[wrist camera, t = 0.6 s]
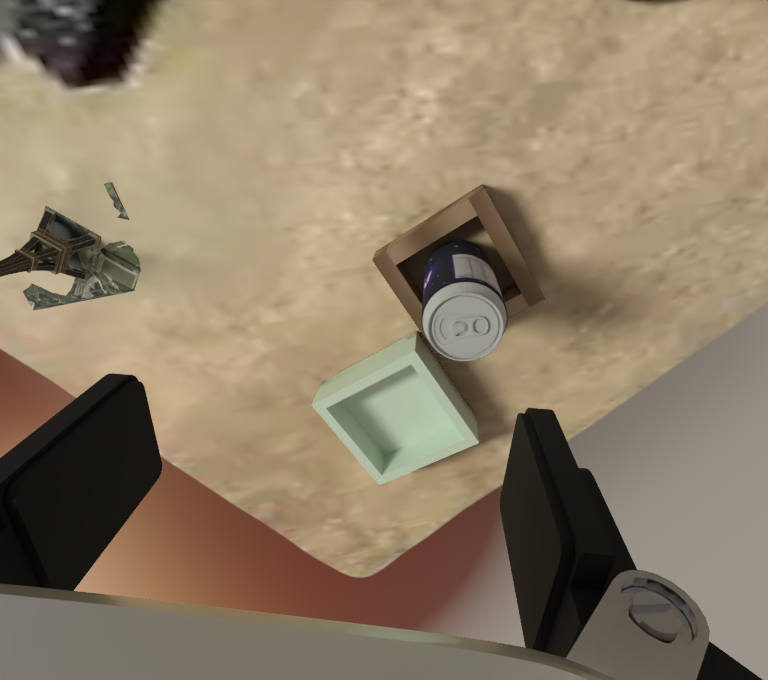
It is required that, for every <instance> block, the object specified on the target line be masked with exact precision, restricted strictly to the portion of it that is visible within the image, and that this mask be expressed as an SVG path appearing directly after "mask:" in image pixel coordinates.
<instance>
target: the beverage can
mask: <svg viewBox="0 0 768 680" xmlns="http://www.w3.org/2000/svg"><path fill="white" fill-rule="evenodd" d="M507 319H508V315H507V309H506V305H505V303H504V300H503V297H502V294H501V291H500V288H499V286H498V283H497V280H496V277H495V274H494V272H493V269H492V266H491V263H490V260H489V258H488V256H487V255H486V253H485V252H484V251H483V250H482V249H481V248H480V247H478V246H477V245H475V244H473V243H470V242H467V241H452V242H448V243H446V244H444V245H442V246H440V247H439V248H437V249H436V250H435V251H434V252H433V253H432V254H431V256H430V257H429V259H428V261H427V264H426V267H425V277H424V290H423V304H422V318H421V321H422V328H423V332H424V334H425V336H426V338H427V339H428V341H429V342H430V343H431V344H432V346H433V347H434V348H435V349H436V350H437V351H438V352H439V353H440V354H442V355H443V356H445V357H447V358H449V359H452V360H456V361H473V360H476V359H480V358H482V357H484V356H486V355H487V354H489V353H490V352H491V351H493V350H494V349H495V347H496V346H497V345H498V343H499V342H500V340H501V338H502V336H503V334H504V332H505V329H506V326H507Z"/></svg>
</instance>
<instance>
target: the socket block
mask: <svg viewBox="0 0 768 680" xmlns="http://www.w3.org/2000/svg"><path fill="white" fill-rule="evenodd" d="M477 215H478V217H479V219H480V221H481V222H482V224H483V226H484V228H485V229H486V231H487V233H488V235H489V236H490V238H491V240H492V242H493V244H494V245H495V247H496V249H497V251H498V252H499V254H500V256H501V258H502V259H503V261H504V263H505V265H506V267H507V268H508V270H509V272H510V274H511V275H512V277H513V279H514V281H515V282H516V284H515V285H513V286H511V287H510V288H508V289H506V290H504V291H502V292H501V294H502V297H503V300H504V303H505V305H506V309H507V315H508V318H509V317H511V316H513V315H515V314H517V313H519V312H521V311H523V310H525V309H527V308H529V307H530V306H532V305H534V304H536V303H538V302H540V301H542V300H544V299H545V298H544V296H543V294H542V292H541V290H540V289H539V287H538V285H537V283H536V281H535V280H534V278H533V276H532V274H531V272H530V270H529V269H528V267H527V265H526V263H525V261H524V259H523V258H522V256H521V254H520V252H519V250H518V248H517V247H516V245H515V243H514V241H513V239H512V237H511V236H510V234H509V232H508V230H507V228H506V226H505V225H504V223H503V221H502V219H501V217H500V215H499V214H498V212H497V210H496V208H495V206H494V204H493V203H492V201H491V199H490V197H489V195H488V193H487V192H486V190H485V188H484V187H483V185H480V186H479V187H477V188H475V189H474V190H472V191H471V192H469V193H468V194H466V195H464V196H463V197H461V198H460V199H458V200H457V201H455V202H453V203H452V204H450V205H449V206H447V207H446V208H444V209H442V210H441V211H439V212H438V213H436V214H434V215H433V216H431V217H430V218H428V219H427V220H425V221H423V222H422V223H420V224H419V225H417V226H416V227H414V228H412V229H411V230H409V231H408V232H406V233H405V234H403V235H401V236H400V237H398V238H397V239H395V240H394V241H392V242H390V243H389V244H387V245H386V246H384V247H382V248H381V249H379V250H378V251H376V252H375V255H374V257H373V259H372V260H373V262H374V263H375V265H376V266H377V268H378V269H379V271H380V272H381V274H382V275H383V277H384V278H385V280H386V281H387V283H388V284H389V285H390V287H391V288H392V290H393V291H394V293H395V294H396V296H397V297H398V299H399V300H400V302H401V303H402V305H403V306H404V307H405V309H406V310H407V312H408V313H409V315H410V316H411V318H412V319H413V321H414V322H415V324H416V325H417V327H418V328H419V330H420V331H421V332H422V334H423V335H424V337H425V338H426V336H425V334H424V332H423V328H422V321H421V318H422V304H423V294H422V293H421V291H420V290H419V288H418V287H417V285H416V284H415V282H414V281H413V279H412V278H411V276H410V275H409V273H408V271H407V270H406V268H405V267H404V265H403V264H402V261H403V260H405V259H407V258H408V257H410V256H412V255H413V254H415V253H416V252H418V251H420V250H421V249H423V248H425V247H426V246H428V245H430V244H431V243H433V242H434V241H436V240H438V239H439V238H441V237H443V236H444V235H446V234H448V233H449V232H451V231H452V230H454V229H456V228H457V227H459V226H461V225H462V224H464V223H466V222H467V221H469V220H470V219H472V218H474V217H475V216H477ZM426 340H427V341H428V339H427V338H426ZM428 343H429V344H430V346H431V347H432V349H433V350H434V352H435V353H436V355H437V354H439V352H438V351H437V350H436V349H435V348H434V347H433V346H432V344H431V343H430V342H429V341H428Z"/></svg>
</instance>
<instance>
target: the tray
mask: <svg viewBox="0 0 768 680" xmlns="http://www.w3.org/2000/svg"><path fill="white" fill-rule="evenodd" d="M312 406H313V407H314V409H315V410H316V411H317V412H318V413H319V414H320V416H321V417H322V418H323V419H324V420H325V422H326V423H327V424H328V425H329V426H330V428H331V429H332V430H333V431H334V432H335V433H336V435H337V436H338V437H339V438H340V439H341V441H342V442H343V443H344V444H345V445H346V447H347V448H348V449H349V450H350V451H351V452H352V454H353V455H354V456H355V457H356V458H357V460H358V461H359V462H360V463H361V464H362V466H363V467H364V468H365V469H366V470H367V471H368V473H369V474H370V475H371V476H372V477H373V479H374V480H375V481H376V482H377V483H378V485H381V484H384V483H386V482H388V481H391V480H393V479H395V478H398V477H400V476H403V475H405V474H407V473H410V472H412V471H414V470H417V469H419V468H421V467H424V466H426V465H429V464H431V463H433V462H436V461H438V460H440V459H443V458H445V457H447V456H450V455H452V454H455V453H457V452H459V451H462V450H464V449H466V448H469V447H471V446H473V445H476V444H478V443H479V437H478V429H477V421H476V417H475V415H474V414H473V412H472V411H471V410H470V408H469V407H468V405H467V404H466V402H465V401H464V399H463V398H462V396H461V395H460V393H459V392H458V391H457V389H456V388H455V386H454V385H453V383H452V382H451V380H450V379H449V377H448V376H447V374H446V373H445V371H444V370H443V369H442V367H441V366H440V364H439V363H438V361H437V360H436V358H435V357H434V355H433V354H432V352H431V351H430V350H429V348H428V347H427V345H426V344H425V342H424V341H423V339H422V338H421V336H420V335H419V333H418V332H417V331H415V332H413V333H412V334H410V335H408V336H406V337H404V338H402V339H401V340H399V341H397V342H395V343H393V344H391V345H390V346H388V347H386V348H384V349H382V350H380V351H379V352H377V353H375V354H373V355H371V356H369V357H368V358H366V359H364V360H362V361H360V362H358V363H356V364H355V365H353V366H351V367H349V368H347V369H345V370H344V371H342V372H340V373H338V374H336V375H334V376H333V377H331V378H329V379H327V380H325V381H323V382H322V383H321V384H320V387H319V389H318V391H317V394H316V396H315V398H314V401H313V403H312Z"/></svg>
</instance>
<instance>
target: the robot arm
mask: <svg viewBox="0 0 768 680" xmlns="http://www.w3.org/2000/svg"><path fill="white" fill-rule="evenodd" d="M161 471H162V462H161V458H160V453H159V449H158V444H157V440H156V436H155V432H154V427H153V423H152V419H151V414H150V410H149V406H148V401H147V397H146V393H145V388H144V385H143V384H142V382H139V381H138V379H137V378H136V377H135V376H133V375H123V374H108V375H106V376H104V377H103V378H102V379H101V380H99V381H98V382H97V383H95V384H94V385H93V386H92V387H90V388H89V389H88V390H87V391H85V392H84V393H83V394H81V395H80V396H79V397H78V398H76V399H75V400H74V401H73V402H71V403H70V404H69V405H68V406H66V407H65V408H64V409H62V410H61V411H60V412H58V413H57V414H56V415H55V416H53V417H52V418H51V419H50V420H48V421H47V422H46V423H44V424H43V425H42V426H41V427H40V428H38V429H37V430H36V431H34V432H33V433H32V434H30V435H29V436H28V437H27V438H25V439H24V440H23V441H22V442H20V443H19V444H18V445H17V446H15V447H14V448H13V449H12V450H10V451H9V452H8V453H6V454H5V455H4V456H2V457H1V458H0V680H762V679H761V678H759V677H758V676H757V675H755V674H754V673H752V672H751V671H749V670H748V669H747V668H745V667H744V666H743V665H741V664H740V663H739V662H737V661H736V660H734V659H733V658H732V657H730V656H729V655H727V654H726V653H725V652H723V651H722V650H720V649H719V648H718V647H716V646H715V645H714V644H712V643H711V642H709V632H710V631H709V627H708V625H707V621H706V618H705V616H704V615H703V613H702V611H701V610H700V608H699V607H698V605H697V604H696V603H695V602H694V601H693V600H692V599H691V598H690V596H689V595H688V594H686V592H685V591H683V590H682V589H681V588H679V587H678V586H676V585H675V584H674V583H672V582H671V581H669V580H667V579H665V578H663V577H661V576H659V575H657V574H654V573H650V572H647V571H643V570H637V569H636V567H635V564H634V562H633V560H632V558H631V556H630V554H629V552H628V549H627V547H626V545H625V543H624V541H623V539H622V537H621V534H620V533H619V530H618V528H617V526H616V524H615V522H614V519H613V517H612V515H611V513H610V511H609V509H608V506H607V504H606V502H605V500H604V498H603V496H602V494H601V492H600V489H599V487H598V485H597V483H596V481H595V479H594V476H593V475H592V473H591V472H590V471H589V470H588V469H585V468H578V466H577V464H576V461H575V459H574V457H573V454H572V452H571V450H570V448H569V445H568V443H567V441H566V438H565V436H564V434H563V431H562V429H561V427H560V424H559V422H558V420H557V418H556V415H555V413H554V411H553V410H548V409H536V408H528V409H527V410H526V412H525V414H523V413H519V414H518V416H517V419H516V424H515V429H514V434H513V439H512V444H511V448H510V453H509V458H508V463H507V468H506V473H505V477H504V482H503V487H502V492H501V497H500V511H501V517H502V522H503V528H504V533H505V538H506V544H507V549H508V554H509V560H510V565H511V571H512V576H513V581H514V587H515V592H516V598H517V603H518V608H519V614H520V619H521V625H522V630H523V635H524V641H525V646H526V648H523V647H518V646H513V645H507V644H502V643H497V642H491V641H485V640H478V639H471V638H463V637H457V636H449V635H442V634H435V633H428V632H420V631H413V630H405V629H397V628H388V627H380V626H373V625H364V624H356V623H348V622H340V621H331V620H323V619H314V618H306V617H298V616H290V615H281V614H272V613H263V612H255V611H247V610H238V609H229V608H220V607H212V606H203V605H194V604H186V603H177V602H167V601H159V600H151V599H141V598H132V597H123V596H114V595H104V594H95V593H86V592H77V591H74V589H75V588H76V587H77V585H78V584H79V583H80V581H81V580H82V579H83V577H84V576H85V575H86V573H87V572H88V571H89V570H90V568H91V567H92V566H93V564H94V563H95V562H96V560H97V559H98V558H99V556H100V555H101V554H102V552H103V551H104V549H105V548H106V547H107V546H108V544H109V543H110V542H111V540H112V539H113V538H114V536H115V535H116V534H117V532H118V531H119V530H120V529H121V527H122V526H123V525H124V523H125V522H126V521H127V519H128V518H129V516H130V515H131V514H132V513H133V511H134V510H135V509H136V507H137V506H138V505H139V503H140V502H141V501H142V500H143V498H144V497H145V496H146V494H147V493H148V492H149V490H150V489H151V487H152V486H153V485H154V484H155V482H156V481H157V480H158V478H159V476H160V474H161Z"/></svg>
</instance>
